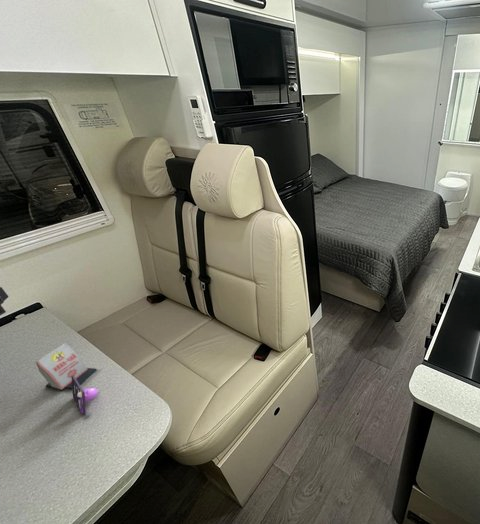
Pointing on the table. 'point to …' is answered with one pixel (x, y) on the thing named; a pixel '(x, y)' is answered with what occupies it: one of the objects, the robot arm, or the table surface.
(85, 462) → the table surface
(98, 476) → the table surface
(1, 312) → the robot arm
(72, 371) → the white red carton
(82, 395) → the purple knobbed frame
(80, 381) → the mat
